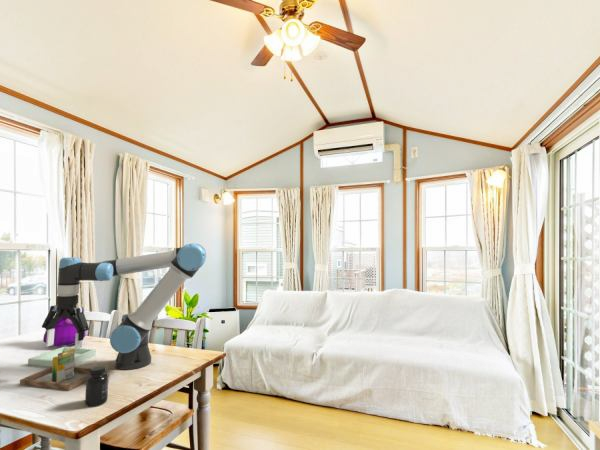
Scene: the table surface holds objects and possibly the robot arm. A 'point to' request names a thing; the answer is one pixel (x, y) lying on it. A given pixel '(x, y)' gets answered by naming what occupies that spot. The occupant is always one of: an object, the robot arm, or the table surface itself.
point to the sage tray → (47, 358)
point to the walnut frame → (54, 385)
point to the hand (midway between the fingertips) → (63, 346)
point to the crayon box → (63, 366)
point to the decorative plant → (63, 333)
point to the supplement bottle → (96, 387)
